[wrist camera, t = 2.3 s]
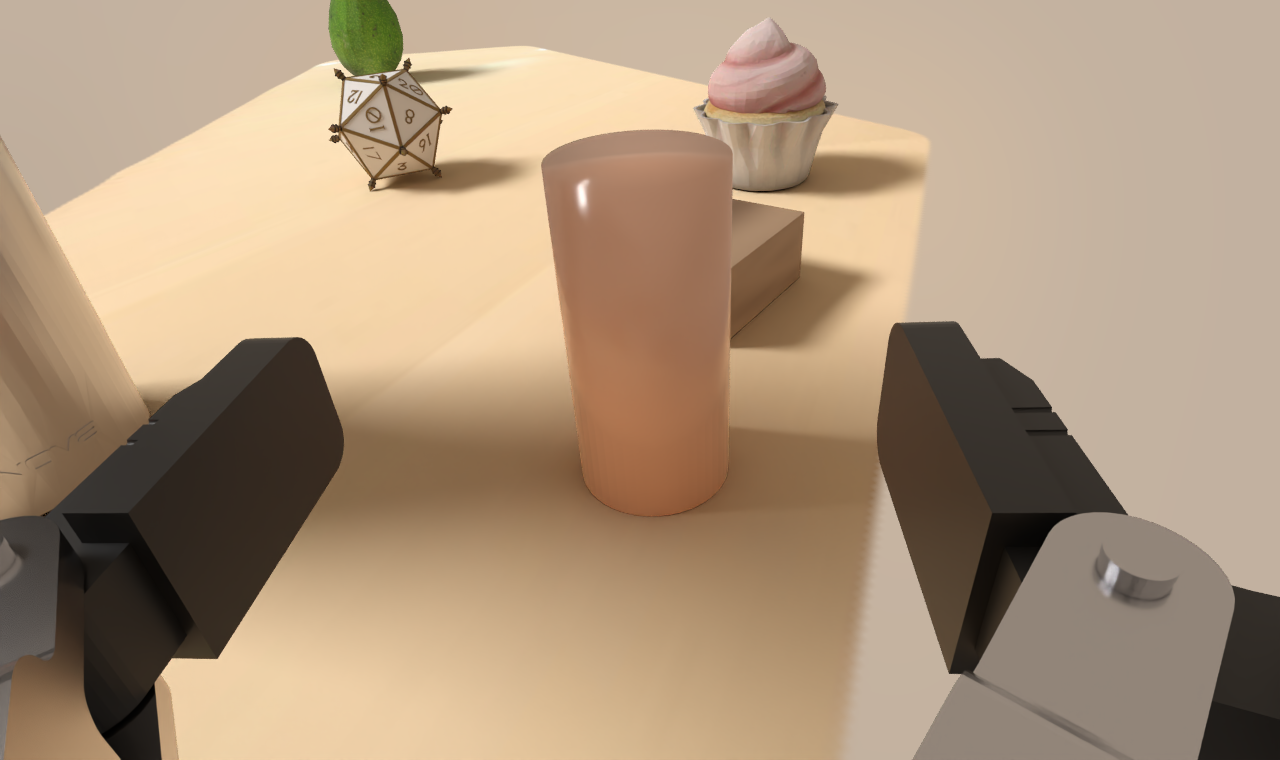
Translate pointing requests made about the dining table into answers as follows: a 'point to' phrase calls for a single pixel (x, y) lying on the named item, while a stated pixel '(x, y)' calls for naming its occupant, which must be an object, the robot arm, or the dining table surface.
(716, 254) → the peach cylinder
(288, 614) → the dining table surface
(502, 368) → the dining table surface
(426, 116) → the game die
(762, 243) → the walnut base
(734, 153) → the cupcake
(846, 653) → the dining table surface
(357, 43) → the avocado
